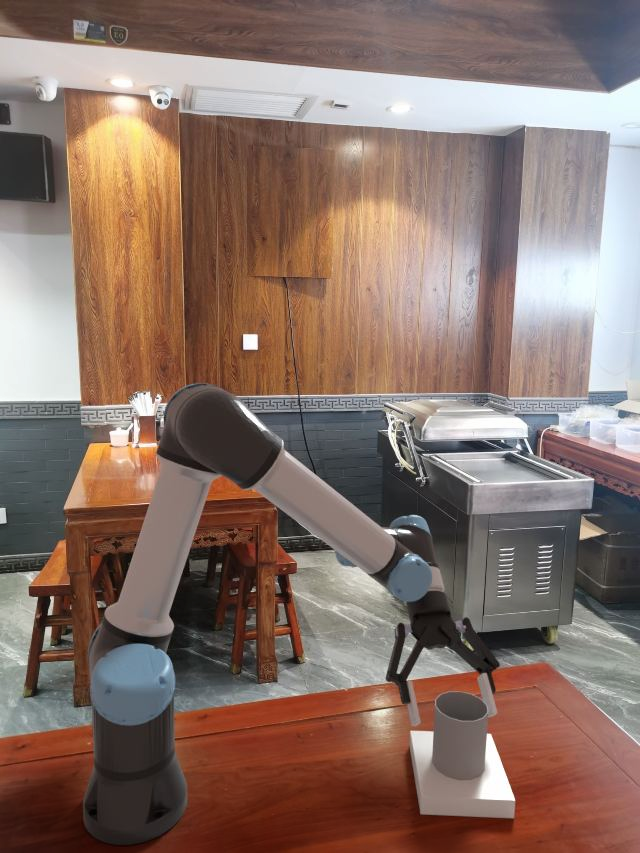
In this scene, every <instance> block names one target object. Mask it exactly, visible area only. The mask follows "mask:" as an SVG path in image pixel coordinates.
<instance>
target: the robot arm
mask: <svg viewBox="0 0 640 853" xmlns="http://www.w3.org/2000/svg"><path fill="white" fill-rule="evenodd" d="M162 419H163V430H162V432H161V436H160V439H159V442H158V446H157V448H156V452H155V456H156V458H157V460H158V461H159V463H160V470H159V474H158V476H157V480H156V483H155V486H154V489H153V492H152V495H151V498H150V502H149V504H148V507H147V511H146V514H145V517H144V520H143V523H142V527H141V529H140V533H139V536H138V539H137V542H136V545H135V548H134V551H133V554H132V558H131V561H130V563H129V566H128V570H127V572H126V577H125V579H124V582H123V585H122V588H121V591H120V595H119V597H118V601H117V602H115V603H113V604H110V605H109V606H108V607H107V608H106V609H105V610H104V613H103V617H102V620H101V623H100V624H99V625H98V626H97V627H96V629H95V631H94V632H93V634H92V637H91V638H90V641H89V645H88V649H87V662H88V663H87V664H88V668H89V682H90V684H89V693H90V695H89V696H90V700H91V714H92V715H91V716H92V740H93V743H92V745H93V769H92V771H91V775H90V777H89V782H88V784H87V788H86V790H85V793H84V797H83V802H82V813H83V814H82V816H83V817H82V818H83V820H82V821H83V825H84V827H85V829H86V831H87V832H88V833H89V834H90V835H91V836H92V837H93V838H95V839H97V840H98V841H100V842H103V843H106V844H108V845H109V844H110V845H115V846H130V845H136V844H142V843H145V842H148V841H151V840H153V839H155V838H158V837H159V836H162V835H163V834H165V833H166V832H168V831H169V830H171V829H172V827H174V826H175V825H176V824H177V823H178V822H179V821H180V819H181V818H182V816H183V815H184V813H185V811H186V808H187V805H188V784H187V780H186V777H185V774H184V771H183V768H182V767H181V764H180V762H179V759H178V756H177V754H176V740H175V739H176V738H175V737H176V734H175V731H176V730H175V727H176V726H175V725H176V724H175V722H176V721H175V689H176V675H175V670H174V666H173V663H172V660H171V658H170V657H169V655H168V654H167V651H168V646H169V644H170V641H171V638H172V635H173V631H174V628H175V624H174V621H173V620H172V618H171V617H170V611H171V609H172V605H173V602H174V599H175V596H176V593H177V590H178V586H179V584H180V581H181V577H182V576H183V575H182V574H183V570H184V569H185V566H186V562H187V559H188V556H189V553H190V550H191V546H192V544H193V541H194V537H195V535H196V532H197V528H198V525H199V523H200V519H201V516H202V513H203V511H204V507H205V504H206V501H207V498H208V494H209V491H210V487H211V485H212V483H213V481H215V480H217V479H219V478H220V477H224V478H226V479H227V480H229V481H230V482H232V483H234V485H236V486H238V488H240V489H242V490H243V491H249V490H250V491H251V490H254V491H255V492H257V493H258V494H259V495H260V496H262V497H264V499H266V500H268V501H269V502H270V503H272V504H273V505H274V506H276V507H277V508H278V509H280V510H281V511H283V513H285V514H286V515H287V516H289V517H291V519H293V520H294V521H296V522H297V523H298V524H300V525H301V526H302V527H304V528H305V529H306V530H308V531H309V532H310V533H311V534H313V535H315V536H316V537H317V538H319V539H320V540H321V541H322V542H324V543H325V544H326V545H328V546H329V547H330V548H332V549H333V550H334V552H335V558H336V560H337V562H338V564H339V565H340V566H343V567H351V568H353V569H354V568H359V569H360V570H361V571H363V572H364V573H365V574H366V575H368V576H369V577H370V578H371V579H373V580H374V581H376V583H378V584H379V585H381V586H382V587H383V588H384V589H385V590H387V591H388V592H389V594H391V595H392V596H394V597H396V598H397V599H399V600H401V601H403V602H405V605H406V610H407V614H408V619H409V622H410V624H404V623H403V622H399V623H398V624H397V625H396V627H395V628H394V638H395V640H394V643H393V648H392V652H391V656H390V659H389V663H388V667H387V670H386V674H385V680H386V682H388V683H394V684H395V685H396V686H397V687H398V691H399V697H400V703H401V704H402V705H406V706H407V711H408V715H409V720H410V726H411V727H417V726H418V725H419V724H421V717H420V711H419V708H418V703H417V697H416V693H415V689H414V684H413V680H408V678H409V676H410V674H411V672H412V671H413V669H414V667H415V665H416V662H417V660H418V659H419V657H420V655H421V654H422V651H423V650H424V648H425V649H427V651H428V650H430V651H431V650H434V649H445V648H446V647H447V648H448V649H449V650H451V651H453V652H455V653H456V654H457V655H458V656H459V657H460V658H462V660H464V661H465V663H467V664H468V665H469V666H470V667H471V668H473V670H475V671H476V672H477V673H478V674H479V675H478V676H477V677H476V679H477V680H476V681H477V684H478V687H479V691H480V694H481V699H482V700H483V701H484V702H485V703H486V705H487V706H488V718H493V716H496V715H497V714H498V709H497V706H496V702H495V698H494V694H495V693H496V685H495V680H494V679H493V675H492V674H493V672H495V671H496V670H497V669H499V668H500V666H501V664H500V662H499V660H498V659H497V658H496V657H495V655H494V654H493V653H492V651H491V650H490V649H489V648H488V646H487V645H486V644H485V642H484V641H483V640H482V639H481V637H480V636H479V635H478V633H477V632H476V631H475V629H474V628H473V625H472V622H471V619H470V618H469V617H466V616H465V617H464V618H463V619H462V620H456V621H455V620H454V619H453V617H452V613H451V609H450V605H449V601H448V597H447V594H446V593H445V590H446V589H445V585H444V581H443V577H442V574H441V570H440V567H439V563H438V559H437V554H436V549H435V546H434V542H433V536H432V534H431V532H430V528H429V525H428V523H427V521H426V519H425V518H423V517H422V516H420V515H417V514H409V515H403V516H399V517H398V518H395V519H394V520H392V522H391V523H390V525H389V527H385V526H380V525H379V524H378V523H377V522H376V521H374V520H373V519H372V518H370V517H369V516H368V515H367V514H365V513H364V512H363V511H362V510H361V509H360V508H358V507H356V506H355V505H354V504H353V503H352V502H351V501H349V500H348V499H346V498H345V497H344V496H343V495H342V494H340V493H339V492H338V491H336V490H335V489H334V488H333V487H332V486H331V485H329V484H328V482H327V483H326V482H325V480H323V479H322V478H321V477H319V476H318V475H316V474H315V473H314V472H313V471H311V470H310V469H309V468H308V467H307V466H305V464H303V463H302V462H301V461H299V460H298V459H297V458H296V457H295V456H293V455H291V453H290V452H288V451H287V450H286V449H285V443H284V440H283V439H282V438H281V437H280V436H278V435H277V434H276V432H274V431H273V430H272V429H271V428H270V427H268V426H267V425H266V424H265V423H264V422H263V421H262V420H261V418H259V417H258V416H257V415H256V414H255V412H253V411H252V409H250V407H249V406H248V405H247V404H245V402H244V401H243V400H241V398H239V397H238V396H237V395H235V394H233V393H231V392H229V391H226V390H225V389H224V388H221V387H219V386H217V385H215V384H210V383H208V382H207V383H206V382H204V383H200V382H197V383H192V384H188V385H185V386H183V387H181V388H179V389H178V390H177V391H175V392H174V393H173V395H172V396H171V397H170V398H169V400H168V401H167V402H166V406H165V408H164V412H163V417H162ZM456 630H458V632H459V634H462V636H463V638H464V639H465V640H466V642H467V643H468V645H469V646H470V647H471V648H472V649H471V648H470V647H468V646H467V645H466V643H464V641H462V638H460V637H459V636H458V635H457V634H456V633H455V631H456ZM409 633H410V635H411V636H413V638H414V639H415V640H416V642H415V644H414V646H413V647H412V650H411V652H410V654H409V656H408V658H407V659H406V660H405V663H404V665H403V667H402V669H401V670H400V673H398V669H399V665H400V662H401V658H402V653H403V650H404V644H405V641H406V638H407V637H408V636H409ZM407 680H408V681H407Z"/></svg>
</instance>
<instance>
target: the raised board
mask: <svg viewBox="0 0 640 853" xmlns="http://www.w3.org/2000/svg"><path fill="white" fill-rule="evenodd" d="M433 733H434V730H433V731H429V730H428V731H427V730H409V751H410V756H411V763H412V769H413V774H414V775H413V777H414V782H415V789H416V794H417V802H418V807H419V814H420V815H427V816H428V815H431V816H452V817H453V816H454V817H471V818H472V817H473V818H474V817H476V818H495V819H496V818H497V819H499V818H500V819H515V811H516V810H515V809H516V799H515V795H514V793H513V791H512V788H511V784H510V783H509V782H510V781H509V779H508V777H507V773H506V771H505V769H504V766H503V763H502V759H501V757H500V755H499V751H498V750H497V747H496V744H495V741H494V739H493V736H492V734H491V733H487V739H486V754H485V769H484V771H483V773H482V774H481V775H480V776H479V777H477V778H475V779H472V780H456V779H453V778H449V777H446V776H445V775H443V774H442V773H440V772H439V771H437V769H436V768H435V766H434V765H433V763H432V752H433Z"/></svg>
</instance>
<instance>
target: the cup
mask: <svg viewBox="0 0 640 853" xmlns="http://www.w3.org/2000/svg"><path fill="white" fill-rule="evenodd" d="M433 718H434V719H433V732H434V733H433V752H432V763H433V765H434V766H435V768H436V769H437V771H439V772H440V773H442V774H443V775H445V776H446V777H449V778H453V779H456V780H472V779H475V778H477V777H479V776H480V775H481V774H482V773H483V771H484V769H485V754H486V739H487V734H488V724H489V723H488V722H489V720H488V719H489V717H488V706H487V705H486V703H485V702H484V701H483V699H482V698H481V697H478V696H477V695H475V694H473V693H469V692H464V691H461V690H460V691H458V690H457V691H456V690H455V691H453V690H452V691H451V690H449V691H446V692H442V693H440V694H439V695H438V696H437V697H436V698H434V717H433Z"/></svg>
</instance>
